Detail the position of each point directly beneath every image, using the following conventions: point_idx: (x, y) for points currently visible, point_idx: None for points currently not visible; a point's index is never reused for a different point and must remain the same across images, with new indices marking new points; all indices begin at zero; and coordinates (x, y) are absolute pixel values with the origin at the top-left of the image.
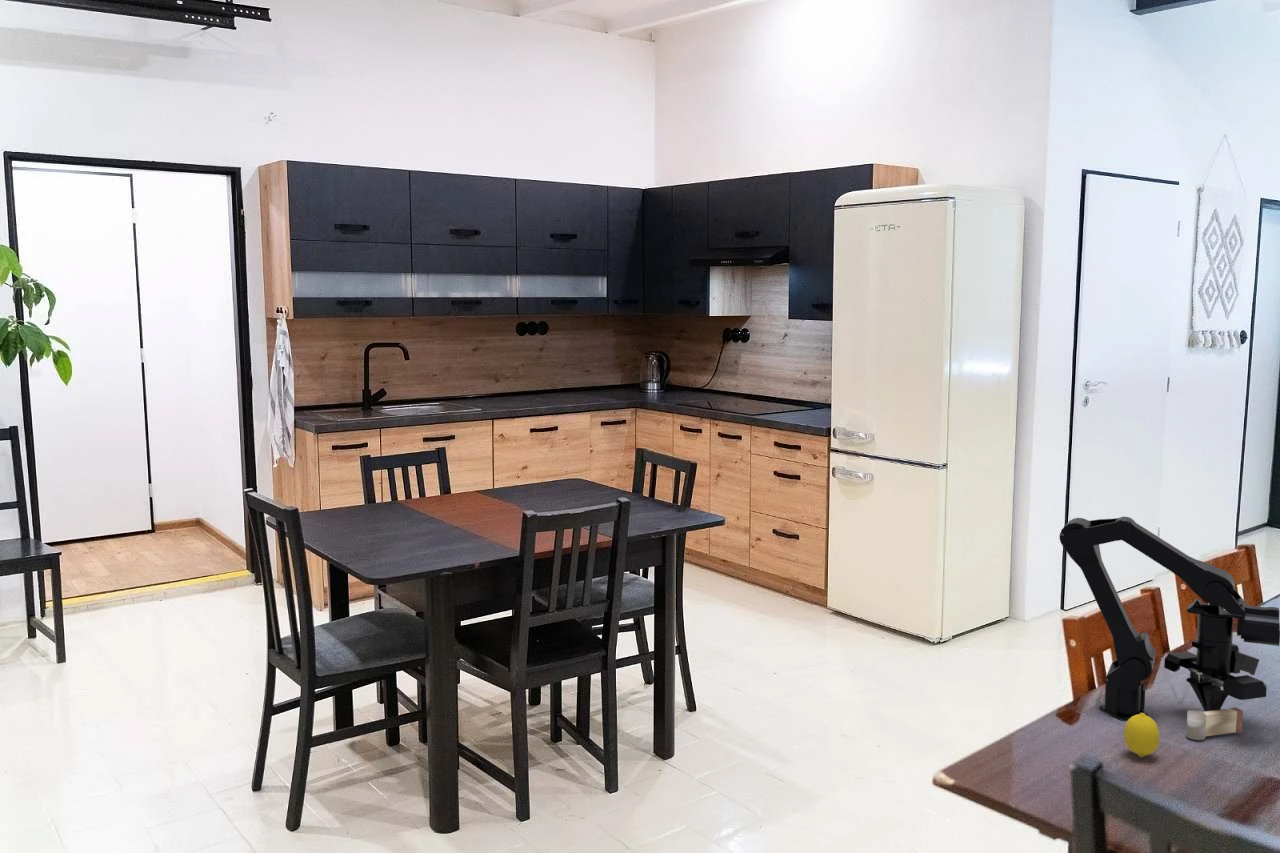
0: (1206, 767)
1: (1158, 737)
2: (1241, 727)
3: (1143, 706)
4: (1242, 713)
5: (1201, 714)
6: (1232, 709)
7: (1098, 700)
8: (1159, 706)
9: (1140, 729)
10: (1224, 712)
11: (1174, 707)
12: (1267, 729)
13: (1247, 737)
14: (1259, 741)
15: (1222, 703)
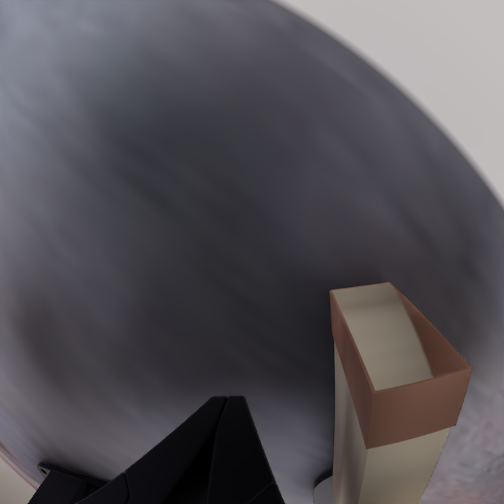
0: (488, 490)
1: None
2: (401, 296)
3: (84, 494)
4: (457, 351)
5: None
6: (402, 443)
7: (30, 475)
8: (15, 387)
9: None
10: (413, 500)
11: (9, 345)
12: (319, 36)
13: (419, 262)
14: (475, 232)
15: (279, 494)
